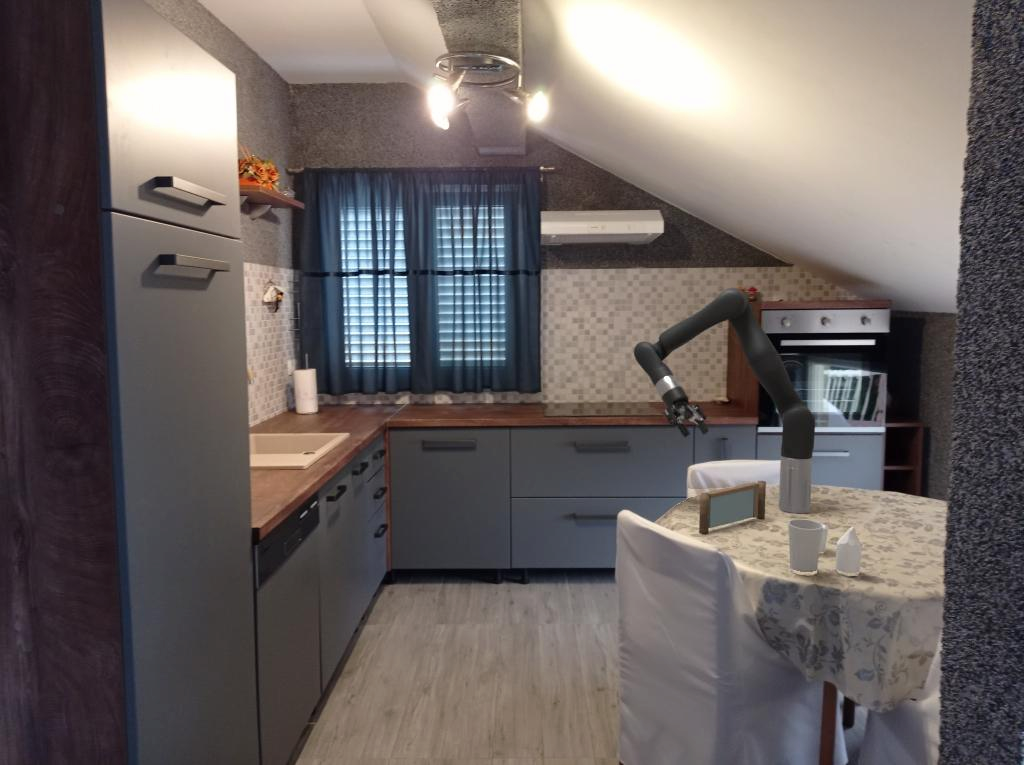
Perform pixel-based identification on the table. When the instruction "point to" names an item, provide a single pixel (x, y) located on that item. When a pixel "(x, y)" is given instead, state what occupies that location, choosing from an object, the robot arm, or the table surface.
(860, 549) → the white pointed prism
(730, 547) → the table surface
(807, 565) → the cup
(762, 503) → the gate posts
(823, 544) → the shot glass
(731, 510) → the gate
